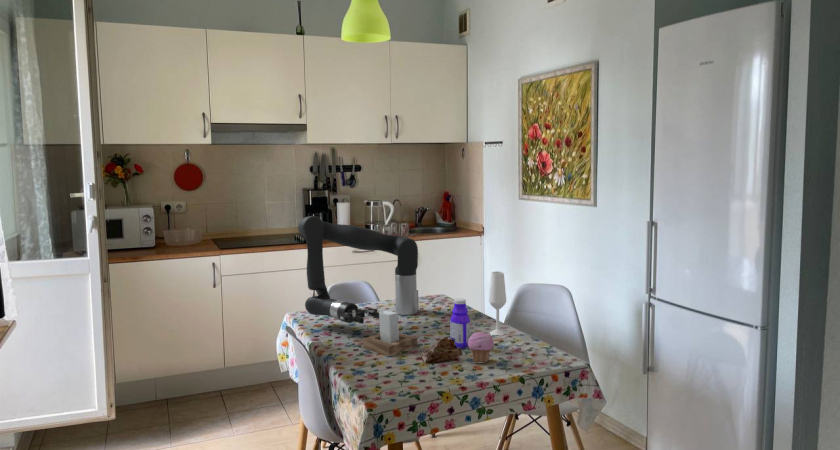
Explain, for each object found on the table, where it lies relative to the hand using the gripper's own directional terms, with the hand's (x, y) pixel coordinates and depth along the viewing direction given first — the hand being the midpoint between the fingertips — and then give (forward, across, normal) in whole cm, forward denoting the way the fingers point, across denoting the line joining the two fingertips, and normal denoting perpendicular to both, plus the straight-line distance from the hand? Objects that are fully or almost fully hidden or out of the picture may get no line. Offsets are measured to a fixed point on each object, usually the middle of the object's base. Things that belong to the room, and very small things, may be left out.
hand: (371, 318), depth 238 cm
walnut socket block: (+10, 0, +9) cm, 13 cm away
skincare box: (+10, 0, +8) cm, 13 cm away
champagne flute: (+29, +39, +9) cm, 49 cm away
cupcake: (+44, +10, +9) cm, 46 cm away
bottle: (+28, +18, +9) cm, 34 cm away
